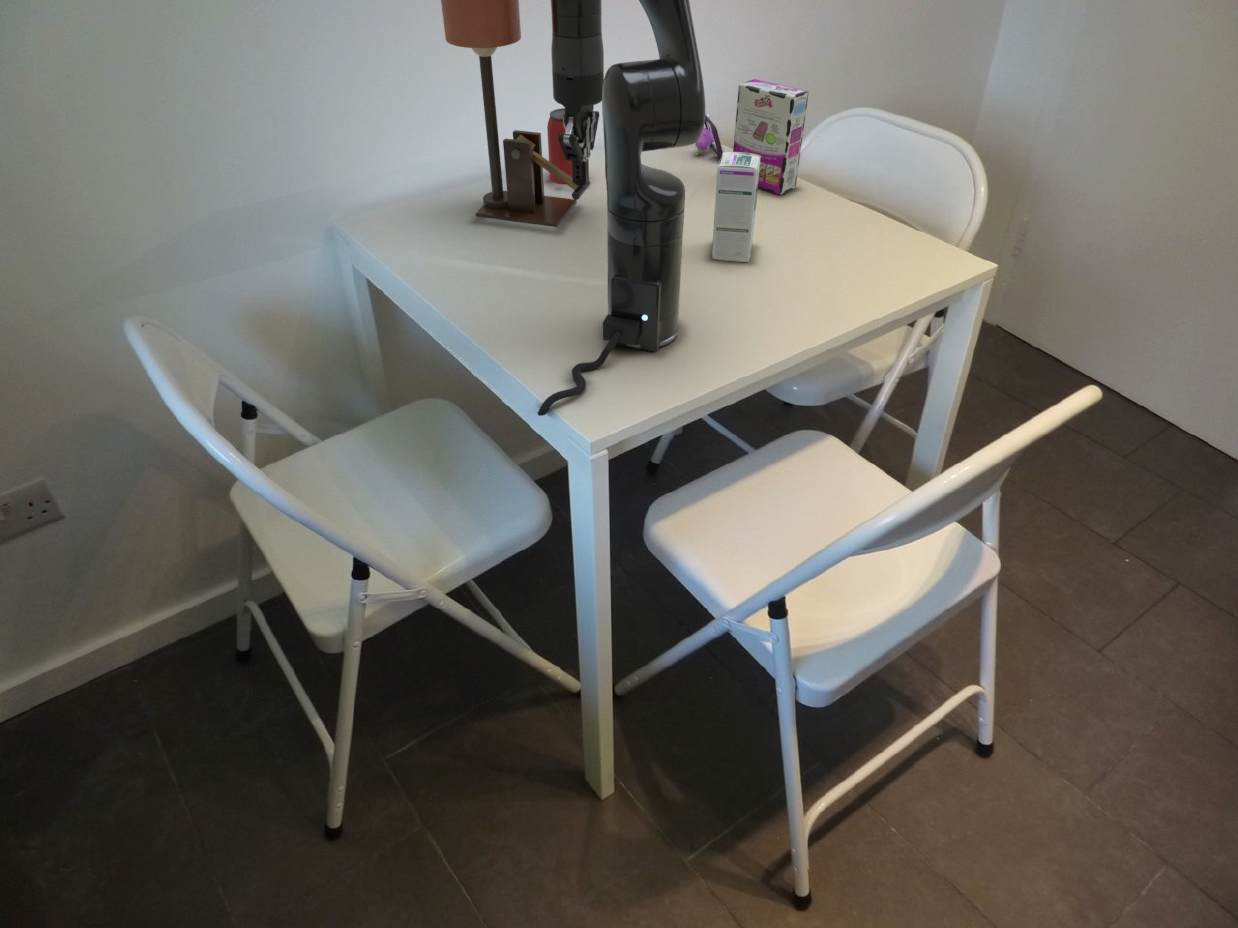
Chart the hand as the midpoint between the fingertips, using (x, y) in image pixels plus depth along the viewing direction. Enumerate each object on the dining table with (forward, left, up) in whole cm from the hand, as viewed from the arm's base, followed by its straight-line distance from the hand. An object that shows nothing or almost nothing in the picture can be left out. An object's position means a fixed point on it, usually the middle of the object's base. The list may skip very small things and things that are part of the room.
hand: (580, 183), depth 133 cm
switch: (0, +6, +1) cm, 6 cm away
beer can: (+15, +7, -7) cm, 18 cm away
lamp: (0, +14, -5) cm, 15 cm away
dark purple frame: (+36, -13, -7) cm, 39 cm away
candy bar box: (+24, -26, -7) cm, 36 cm away
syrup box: (-4, -26, -7) cm, 27 cm away
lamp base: (0, +9, -6) cm, 12 cm away
